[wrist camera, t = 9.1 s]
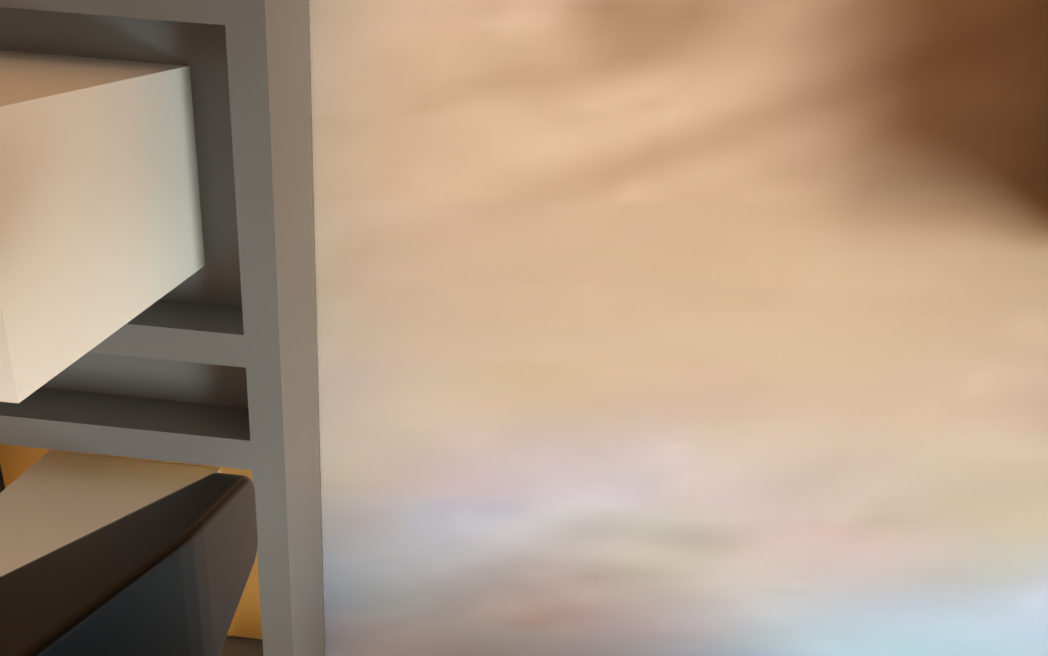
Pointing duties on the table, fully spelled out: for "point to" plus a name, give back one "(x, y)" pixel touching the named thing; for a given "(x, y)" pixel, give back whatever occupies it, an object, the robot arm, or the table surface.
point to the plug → (79, 499)
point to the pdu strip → (222, 316)
